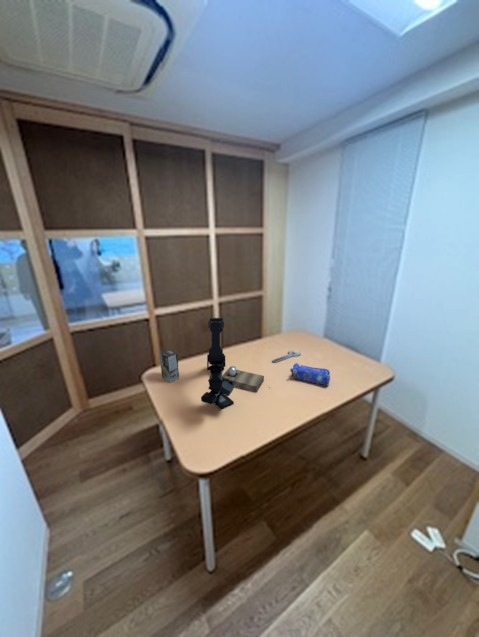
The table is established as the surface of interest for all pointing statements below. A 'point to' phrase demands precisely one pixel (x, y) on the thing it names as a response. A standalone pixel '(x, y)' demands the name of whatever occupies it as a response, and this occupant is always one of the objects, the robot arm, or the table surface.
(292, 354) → the adjustable wrench
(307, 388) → the table surface
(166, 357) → the coffee box
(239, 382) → the hitch block
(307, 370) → the pencil case
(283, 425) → the table surface
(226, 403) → the vhs tape
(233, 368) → the steel peg
